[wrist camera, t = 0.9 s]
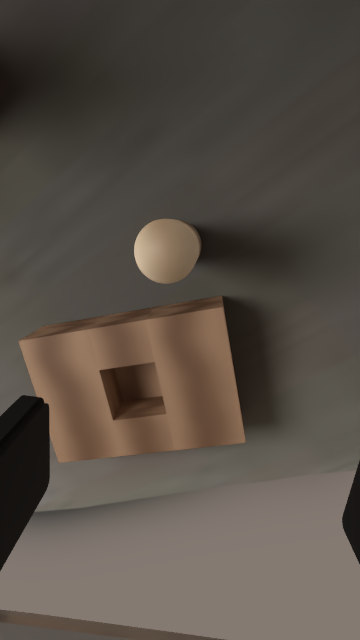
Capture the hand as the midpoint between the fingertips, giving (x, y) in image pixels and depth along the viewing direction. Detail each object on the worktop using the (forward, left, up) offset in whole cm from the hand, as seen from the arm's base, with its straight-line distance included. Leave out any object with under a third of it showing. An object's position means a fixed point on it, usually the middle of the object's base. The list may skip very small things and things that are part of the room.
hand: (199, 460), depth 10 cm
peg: (+2, -5, -26) cm, 27 cm away
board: (+9, +8, -26) cm, 29 cm away
